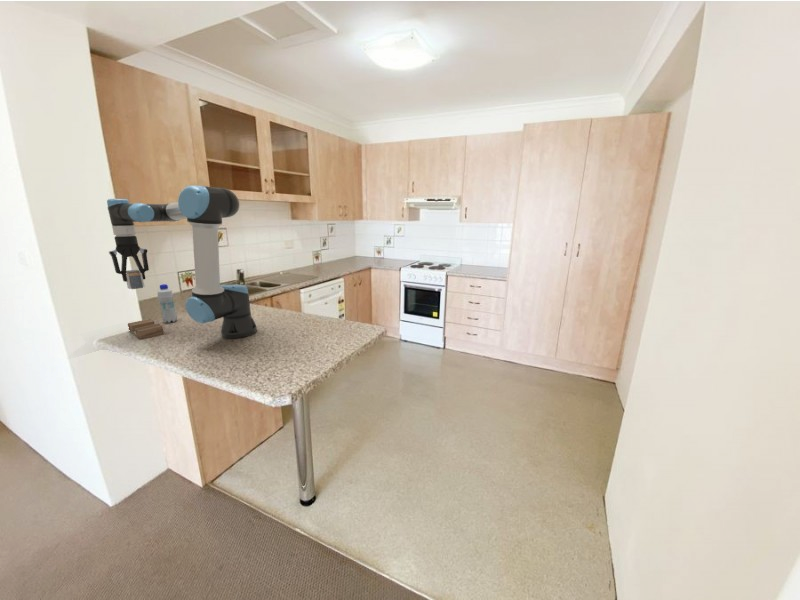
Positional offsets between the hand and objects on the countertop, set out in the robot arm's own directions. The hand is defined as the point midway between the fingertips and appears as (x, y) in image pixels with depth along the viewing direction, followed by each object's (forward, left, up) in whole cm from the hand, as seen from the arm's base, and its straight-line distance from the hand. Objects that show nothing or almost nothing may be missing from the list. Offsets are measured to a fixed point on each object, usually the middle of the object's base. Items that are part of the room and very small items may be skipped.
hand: (136, 287), depth 149 cm
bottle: (+10, -13, -22) cm, 28 cm away
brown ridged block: (0, 0, -22) cm, 22 cm away
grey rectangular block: (0, 0, 0) cm, 0 cm away
